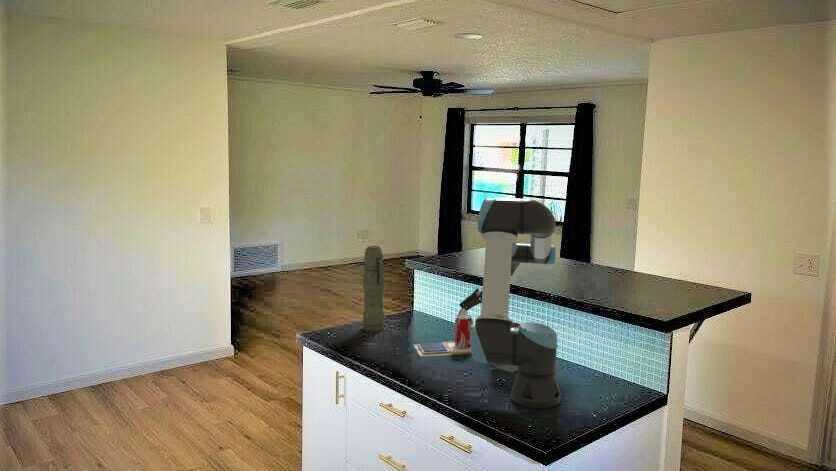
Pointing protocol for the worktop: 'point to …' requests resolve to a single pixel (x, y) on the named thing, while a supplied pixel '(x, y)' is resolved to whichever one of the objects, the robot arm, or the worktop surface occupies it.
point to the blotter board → (432, 354)
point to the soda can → (463, 331)
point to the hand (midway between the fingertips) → (469, 327)
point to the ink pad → (433, 348)
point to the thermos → (373, 290)
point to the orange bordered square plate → (456, 348)
